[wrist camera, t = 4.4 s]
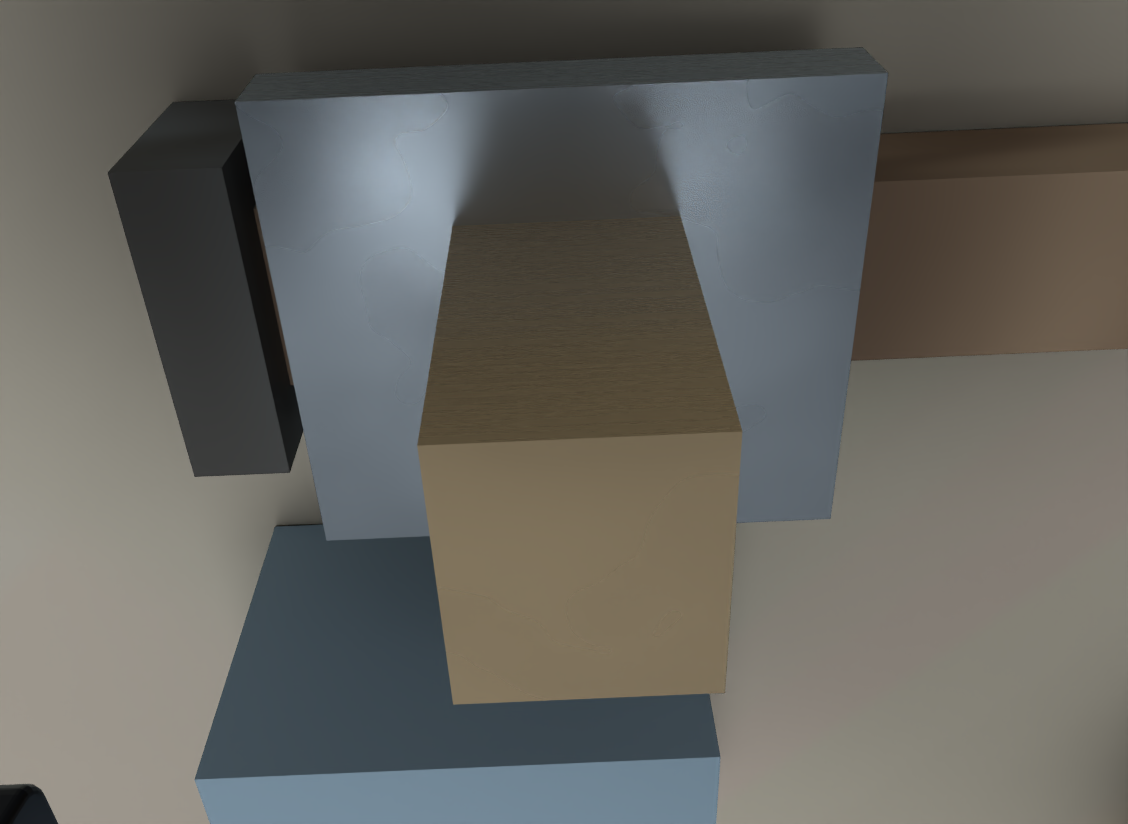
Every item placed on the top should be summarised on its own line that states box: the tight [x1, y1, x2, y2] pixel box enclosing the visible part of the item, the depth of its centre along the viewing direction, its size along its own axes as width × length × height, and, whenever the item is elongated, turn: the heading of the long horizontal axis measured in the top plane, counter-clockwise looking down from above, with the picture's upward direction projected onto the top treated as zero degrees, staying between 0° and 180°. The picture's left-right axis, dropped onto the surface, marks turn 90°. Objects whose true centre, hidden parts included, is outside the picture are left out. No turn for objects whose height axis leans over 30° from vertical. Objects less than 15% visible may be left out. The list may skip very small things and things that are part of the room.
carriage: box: [235, 47, 888, 705], centre depth 14 cm, size 8×7×8 cm
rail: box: [108, 100, 1128, 477], centre depth 17 cm, size 22×5×3 cm, turn 92°
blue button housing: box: [195, 525, 720, 824], centre depth 21 cm, size 8×8×6 cm
